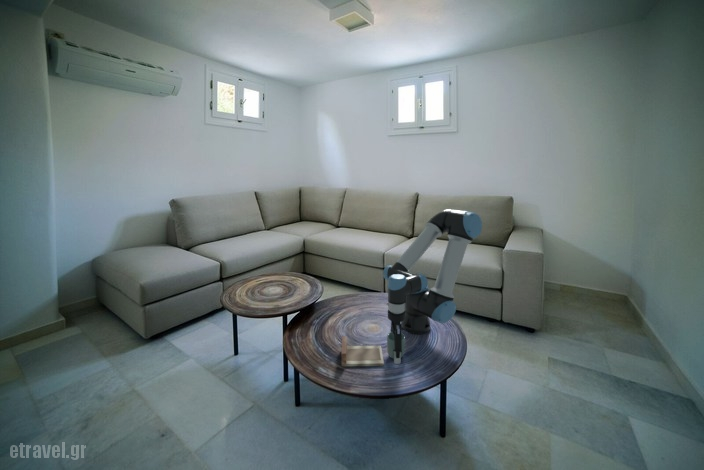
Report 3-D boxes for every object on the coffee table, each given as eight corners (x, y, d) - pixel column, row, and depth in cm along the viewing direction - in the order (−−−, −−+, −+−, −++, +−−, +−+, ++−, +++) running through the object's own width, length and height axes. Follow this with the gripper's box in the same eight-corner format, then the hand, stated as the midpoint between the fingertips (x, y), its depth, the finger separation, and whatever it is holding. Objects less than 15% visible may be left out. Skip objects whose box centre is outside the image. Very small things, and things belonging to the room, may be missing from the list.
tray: (380, 347, 142) (381, 335, 140) (383, 365, 129) (383, 353, 127) (342, 348, 142) (342, 336, 140) (341, 366, 129) (341, 353, 128)
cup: (394, 348, 141) (394, 329, 138) (407, 356, 135) (408, 336, 133) (383, 356, 135) (383, 336, 133) (397, 364, 130) (397, 343, 128)
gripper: (385, 299, 141) (384, 341, 146) (391, 323, 119) (390, 372, 124) (401, 298, 141) (400, 341, 146) (410, 323, 119) (408, 372, 124)
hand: (395, 355), depth 135 cm, fingers open, 9 cm apart
